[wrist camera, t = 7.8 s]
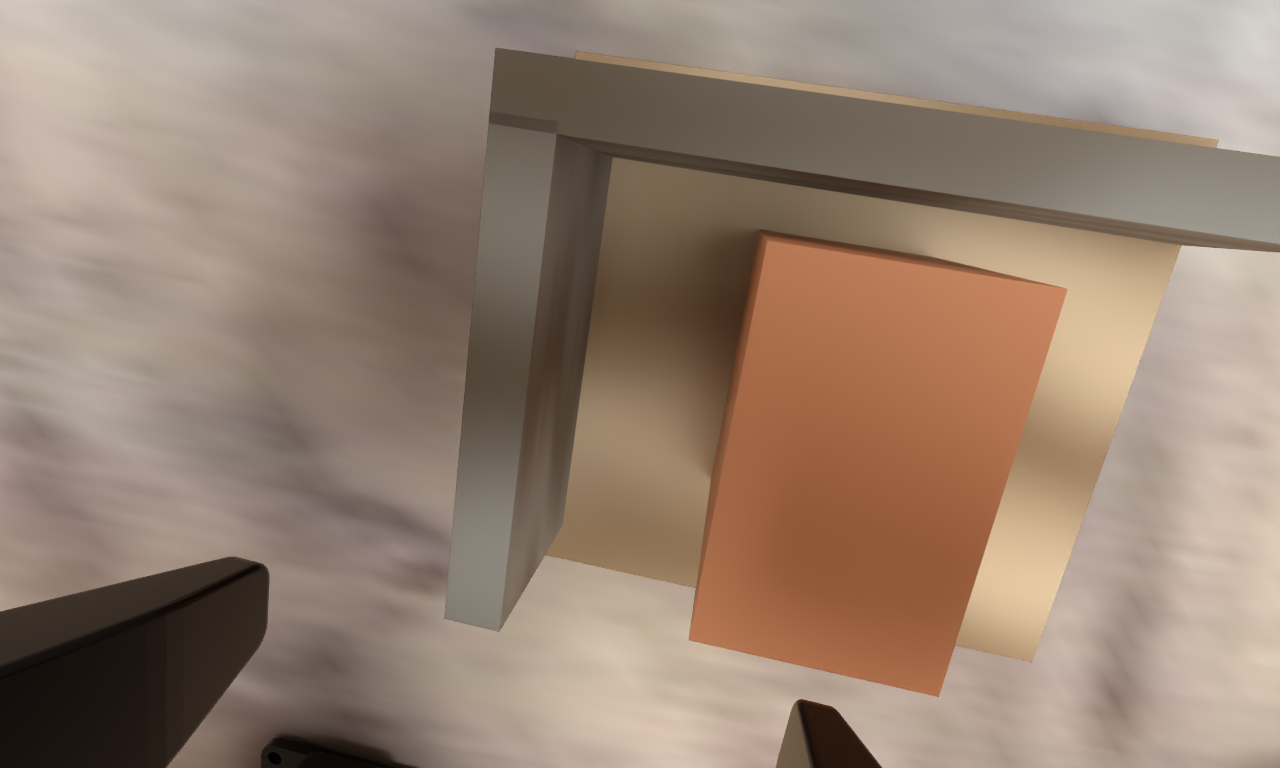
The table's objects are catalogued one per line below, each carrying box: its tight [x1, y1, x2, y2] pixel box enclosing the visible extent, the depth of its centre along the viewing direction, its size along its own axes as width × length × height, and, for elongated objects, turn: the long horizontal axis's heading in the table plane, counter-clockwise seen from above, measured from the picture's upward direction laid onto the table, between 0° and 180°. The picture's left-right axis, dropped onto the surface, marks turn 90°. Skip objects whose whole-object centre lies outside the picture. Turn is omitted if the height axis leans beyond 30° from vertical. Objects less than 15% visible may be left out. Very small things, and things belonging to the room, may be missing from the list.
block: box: [689, 229, 1068, 697], centre depth 13 cm, size 4×6×7 cm, turn 171°
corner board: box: [444, 48, 1280, 662], centre depth 15 cm, size 13×14×6 cm
